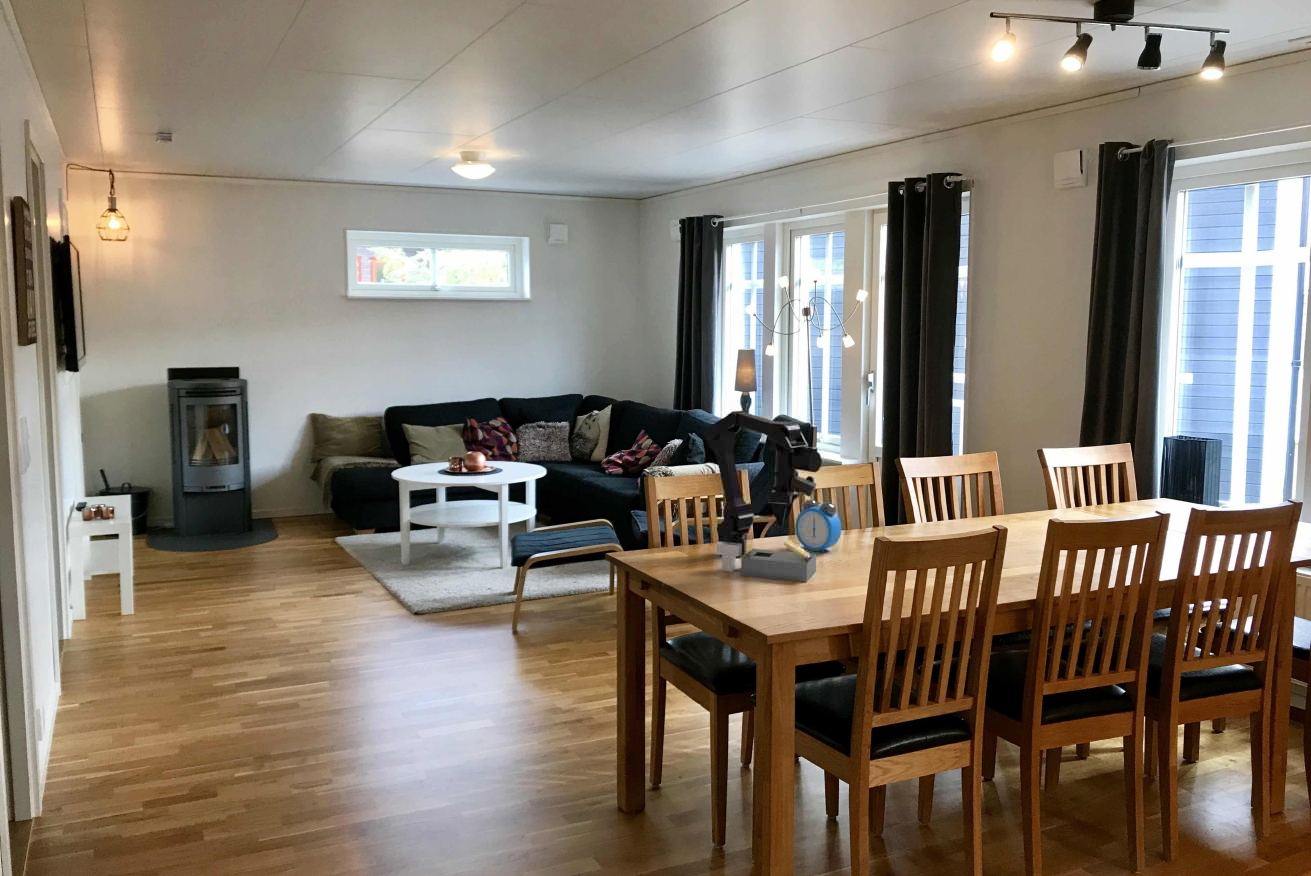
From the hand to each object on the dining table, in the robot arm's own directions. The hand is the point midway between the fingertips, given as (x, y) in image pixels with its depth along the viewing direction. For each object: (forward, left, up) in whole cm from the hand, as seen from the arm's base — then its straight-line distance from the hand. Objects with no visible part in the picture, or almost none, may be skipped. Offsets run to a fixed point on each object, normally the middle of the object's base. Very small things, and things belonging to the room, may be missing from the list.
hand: (783, 522), depth 291 cm
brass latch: (+6, -9, -6) cm, 12 cm away
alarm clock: (+5, +24, -13) cm, 28 cm away
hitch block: (+1, -9, -13) cm, 15 cm away
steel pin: (-13, -10, -13) cm, 21 cm away
